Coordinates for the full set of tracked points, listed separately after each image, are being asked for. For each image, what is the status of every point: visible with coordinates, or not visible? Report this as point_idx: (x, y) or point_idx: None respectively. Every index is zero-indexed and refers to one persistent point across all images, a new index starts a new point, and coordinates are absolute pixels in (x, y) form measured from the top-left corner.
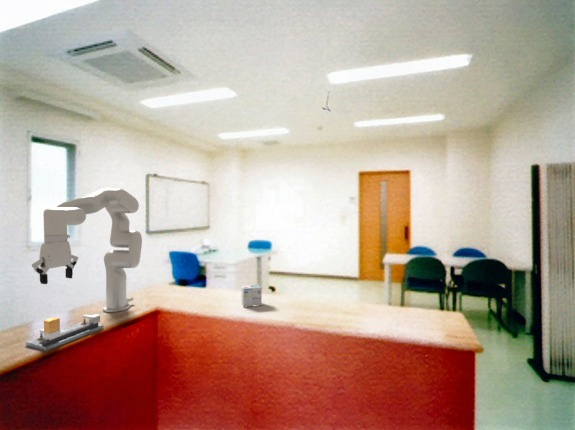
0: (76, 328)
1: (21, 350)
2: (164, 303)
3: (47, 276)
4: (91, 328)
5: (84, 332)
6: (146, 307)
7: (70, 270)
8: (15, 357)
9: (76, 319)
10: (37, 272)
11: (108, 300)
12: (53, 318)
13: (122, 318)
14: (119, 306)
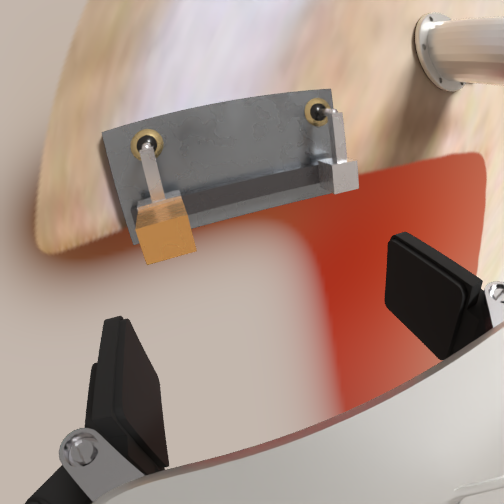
0: (262, 180)
1: (82, 166)
2: (499, 151)
3: (165, 445)
4: (304, 188)
5: (271, 207)
6: (474, 132)
7: (437, 355)
8: (59, 216)
9: (332, 11)
10: (56, 471)
11: (451, 45)
12: (175, 233)
13: (408, 153)
14: (449, 78)
